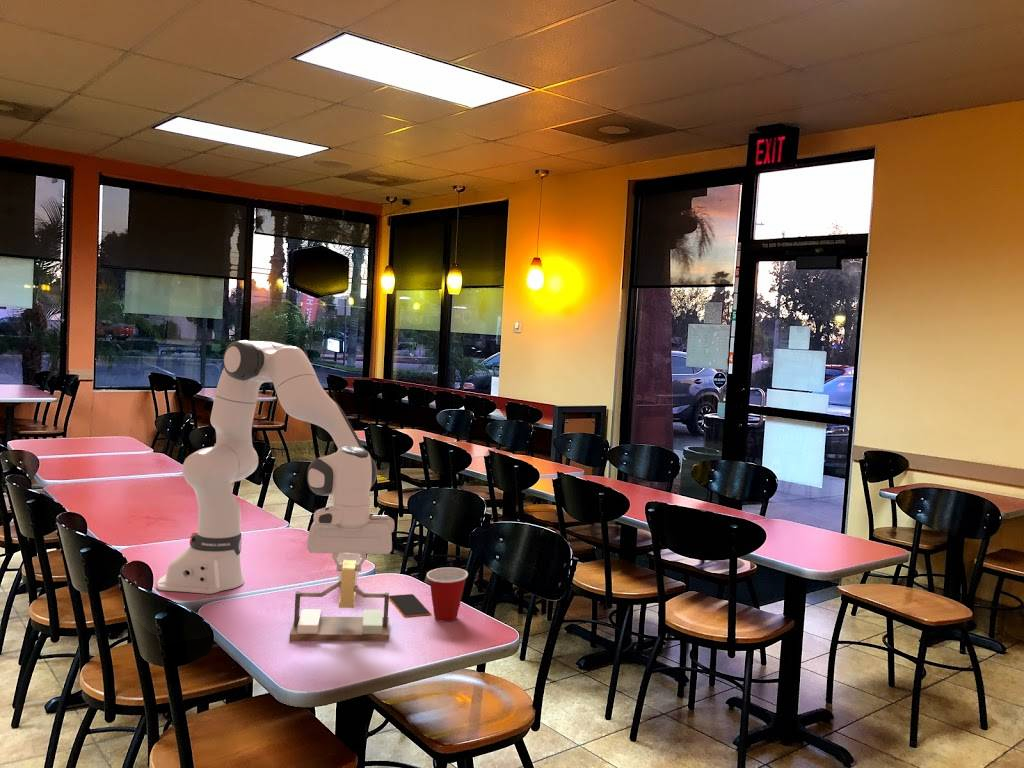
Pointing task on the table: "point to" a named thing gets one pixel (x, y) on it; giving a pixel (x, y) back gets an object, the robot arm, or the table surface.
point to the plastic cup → (446, 591)
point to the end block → (372, 622)
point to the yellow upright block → (347, 584)
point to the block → (309, 621)
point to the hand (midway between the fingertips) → (348, 570)
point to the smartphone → (409, 605)
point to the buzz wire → (340, 622)
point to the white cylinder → (349, 557)
